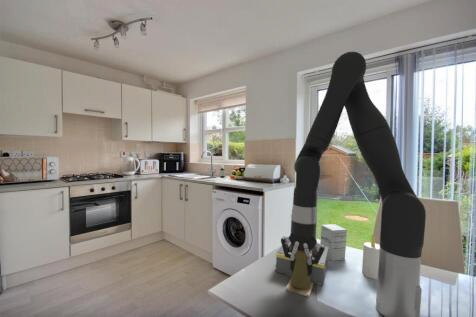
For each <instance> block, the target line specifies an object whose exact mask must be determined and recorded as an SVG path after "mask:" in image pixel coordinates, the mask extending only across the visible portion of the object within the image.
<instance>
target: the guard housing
mask: <svg viewBox="0 0 476 317" xmlns="http://www.w3.org/2000/svg"><path fill="white" fill-rule="evenodd" d="M288 246H289V250H290V253H292V251H293V248H294V247H293V246H292V244H291V242H290V241H289V243H288ZM311 251H312V257H313V258H316V255H317V253H318V251H317V247H316V246H315V247H314V248H313V249H312V250H311ZM328 251H329V247H327V246H325V249H324V252H323V254H322V256H321V258H320V260H319V262H318V264H317V265H316V264H313V265H312V273H311V275H310V283H313V284H317V285H321V286H324V283H325V278H326V275H327V270H328V264H329V259H328ZM275 258H276V263H275V273H278V274H282V273H283V275H287V276H290V277H292V270H291V269H290V262H291V260H290V258H288V257H285V255H284V251H283V247H282V245H281V246H280V247H279V249H278V250H277V252H276V254H275Z"/></svg>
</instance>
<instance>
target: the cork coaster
mask: <svg viewBox="0 0 476 317" xmlns="http://www.w3.org/2000/svg"><path fill="white" fill-rule="evenodd" d="M291 278H292V276H290V279H289V281H288V283H287V285H286V287H285V290H286V291H289V292H292V293H295V294H298V295H302V296H303V297H304V296H305V297H308V298H310V296H311V293H312V289H313V286H314V282H310V287H309V288H307V289H301V288H297V287H295V286H293V285H292V284H291Z"/></svg>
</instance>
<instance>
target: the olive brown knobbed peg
mask: <svg viewBox="0 0 476 317" xmlns="http://www.w3.org/2000/svg"><path fill="white" fill-rule="evenodd" d="M307 254H308V253H307ZM294 257H295V265H294V270H293V272H292V276H291V277H292V278H291V277H290V279H291V284H292V285H293V286H295V287H297V288H301V289H307V288H309V287H310V283H311V281H310V275H309V276H308V272H307V264H308V262H307V261H308V259H309V258H308V257H307V255H306V253H305V251H302V250H297V252H296V253H295V254H294Z"/></svg>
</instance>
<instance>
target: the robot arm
mask: <svg viewBox="0 0 476 317" xmlns="http://www.w3.org/2000/svg"><path fill="white" fill-rule="evenodd" d="M366 71H367V61H366V58H365V57H364V56H363V55H362V54H361V53H360V52H357V51H348V52H345V53H342V55H339V57H337V58H336V60H335V62H334V63H333V65H332V68H331V75H330V79H329V84H328V87H327V90H326V93H325V95H324V97H323V100H322V103H321V105H320V108H319V110H318V112H317V114H316V116H315V118H314V120H313V123H312V125H311V127H310V130H309V131H308V134H307V136H306V139H305V142H304V144H303V146H302V148H301V150H300V152H299V154H298V155H297V158H296V160H295V162H294V164H293V168H294V172H295V187H294V189H293V197H292V198H293V199H292V209H291V215H290V216H291V218H290V220H291V221H290V222H291V223H290V235H289V236H286V235H285V236H282V237H281V239H280V243H281V246H282V247H283V251H284V255H285V257H288V258H290V260H291V262H290V269H291V270H292V272H293V270H294V265H295V257H294V254H295V253H296V252H297V250H302V251H305V253H306V255H307V257H308V258H309V259H308V261H307V262H308V264H307V272H308V276H309V275H311V273H312V265H313V264H316V265H317V264H318V262H319V260H320V258H321V256H322V254H323V252H324V249H325V245H324V244H322V245H321V244H320V243H319V242H318V241H317V238H316V235H317V234H316V233H317V232H316V231H317V230H316V229H317V213H318V212H317V201H318V199H317V197H318V195H317V194H318V192H317V190H318V188H319V187H318V186H319V183H320V182H319V181H320V175H321V165H320V163H319V162H320V161H321V159H322V157H323V156H322V155H323V154H324V153H325V152H326V151H327V150H328V148H329V147H330V144H331V142H332V139H333V138H334V135H335V133H336V130H337V128H338V125H339V122H340V120H341V116H342V114H343V111H344V108H345V110H346V114H347V119H348V123H349V125H350V128H351V131H352V134H353V137H354V140H355V142H356V145H357V148H358V150H359V152H360V154H361V156H362V158H363V160H364V162H365V163H366V165H367V167H368V168H369V170H370V172H371V173H372V175H373V178H374V180H375V182H376V184H377V188H378V191H379V196H380V199H381V215H380V216H381V218H380V231H379V232H380V233H379V234H380V235H379V245H380V249H379V265H378V279H376V281H377V282H376V283H377V284H376V296H375V297H376V298H375V307H376V310H377V312H379V313H380V314H381V315H382V317H421V304H422V294H423V293H422V292H423V291H422V287H421V285H420V281H421V280H420V279H421V278H420V276H421V263H422V262H421V261H422V252H423V251H422V250H423V247H424V241H425V231H426V230H425V229H426V218H427V217H426V214H427V212H426V208H425V206H424V204H423V202H422V201H421V200H420V198H419V197H418V196H417V194H416V193H415V191H414V189H413V188H412V185H411V184H410V182H409V180H408V178H407V176H406V174H405V173H404V169H403V165H402V161H401V157H400V153H399V149H398V146H397V143H396V139H395V136H394V134H393V131H392V129H391V126H390V125H389V123H388V120H387V119H386V118H385V116H384V114H382V112H381V111H380V110H379V108H378V107H377V106H376V105H375V104H374V102H373V101H372V99H371V96H370V95H369V92H368V90H367V87H366V84H365V77H364V76H365V73H366ZM289 241H290V242H291V244H292V246H293V247H294V248H293V251H292V253H290V250H289V246H288V243H289ZM315 246H316V247H317V251H318V253H317V255H316V258H312V251H311V250H312V249H313V248H314V247H315ZM307 253H308V254H307Z"/></svg>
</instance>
